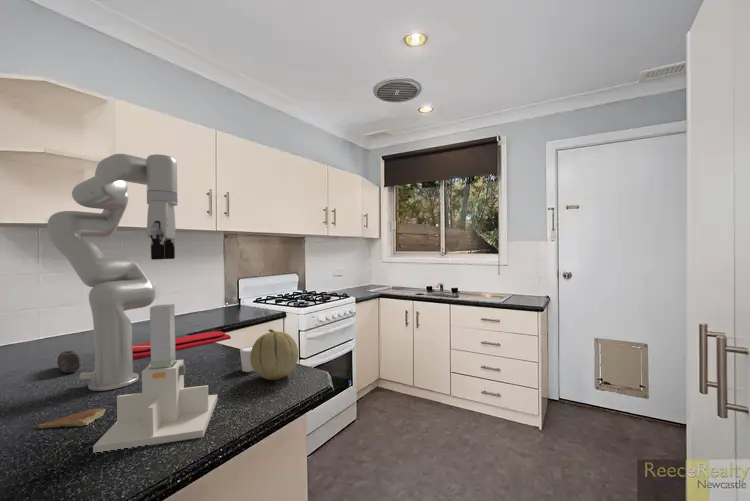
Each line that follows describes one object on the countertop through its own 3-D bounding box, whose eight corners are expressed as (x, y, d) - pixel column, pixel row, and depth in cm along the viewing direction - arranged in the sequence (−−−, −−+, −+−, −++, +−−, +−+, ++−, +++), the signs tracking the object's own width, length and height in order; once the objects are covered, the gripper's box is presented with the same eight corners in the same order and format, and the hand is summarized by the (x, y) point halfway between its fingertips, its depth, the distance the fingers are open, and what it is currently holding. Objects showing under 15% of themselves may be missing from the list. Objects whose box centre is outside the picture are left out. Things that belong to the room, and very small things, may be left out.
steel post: (151, 386, 80) (149, 307, 80) (156, 380, 84) (155, 305, 84) (171, 384, 81) (169, 306, 81) (176, 378, 85) (174, 304, 85)
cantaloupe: (273, 390, 100) (272, 338, 100) (240, 381, 108) (239, 332, 108) (308, 374, 113) (308, 328, 113) (277, 367, 120) (276, 324, 121)
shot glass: (254, 373, 116) (254, 351, 116) (236, 372, 117) (235, 351, 117) (265, 366, 122) (264, 346, 122) (247, 365, 124) (247, 345, 124)
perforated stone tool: (54, 368, 126) (54, 348, 126) (73, 364, 130) (73, 345, 130) (61, 377, 116) (60, 356, 116) (81, 372, 120) (81, 352, 120)
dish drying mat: (231, 340, 163) (231, 332, 163) (128, 362, 132) (128, 353, 132) (214, 335, 173) (214, 328, 173) (115, 355, 141) (114, 346, 141)
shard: (36, 430, 81) (36, 423, 81) (64, 415, 89) (64, 408, 89) (85, 428, 81) (85, 420, 81) (108, 413, 89) (108, 406, 89)
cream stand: (93, 453, 70) (91, 386, 70) (132, 410, 89) (131, 357, 89) (203, 437, 75) (201, 374, 75) (217, 399, 95) (216, 349, 95)
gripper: (157, 203, 108) (158, 259, 108) (135, 194, 91) (137, 260, 91) (184, 203, 110) (185, 258, 110) (168, 194, 93) (169, 259, 93)
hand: (163, 259), depth 100 cm, fingers open, 9 cm apart
